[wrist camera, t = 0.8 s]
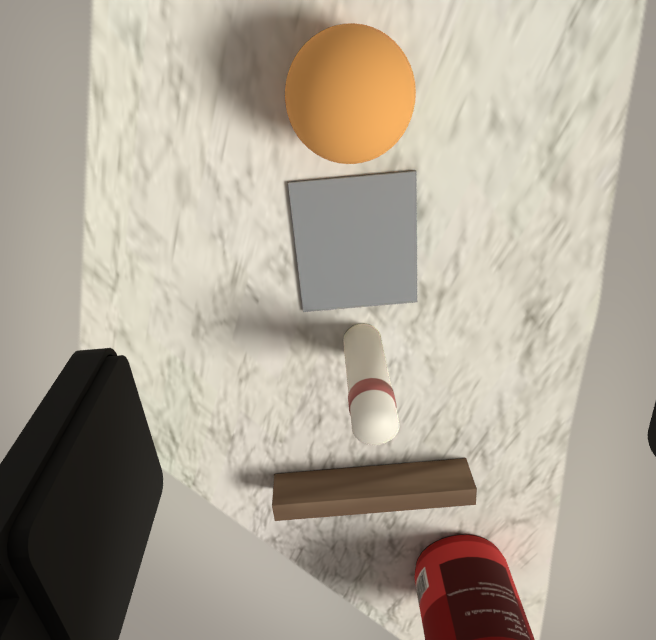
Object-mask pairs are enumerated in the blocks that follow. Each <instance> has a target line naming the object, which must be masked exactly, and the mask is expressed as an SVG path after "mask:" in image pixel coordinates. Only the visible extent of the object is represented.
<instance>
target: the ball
mask: <svg viewBox="0 0 656 640" xmlns="http://www.w3.org/2000/svg"><path fill="white" fill-rule="evenodd" d="M415 94H416V90H415V80H414V75H413V71H412V68H411V65H410V63H409V61H408V59H407V57H406V55H405V54H404V52H403V51H402V49H401V48H400V47H399V46H398V45H397V44H396V42H395V41H394V40H392V39H391V38H390V37H389V36H388V35H386V34H385V33H383V32H381V31H380V30H377V29H375V28H373V27H370V26H367V25H362V24H355V23H354V24H341V25H336V26H333V27H330V28H327V29H325V30H323V31H321V32H319V33H318V34H316V35H315V36H313V37H312V38H311V39H310V40H309V41H307V42H306V43H305V44H304V46H303V47H302V48H301V49H300V50H299V52H298V53H297V55H296V56H295V58H294V60H293V62H292V64H291V66H290V69H289V72H288V75H287V80H286V86H285V103H286V109H287V114H288V117H289V120H290V123H291V125H292V127H293V129H294V131H295V133H296V134H297V136H298V137H299V139H300V140H301V141H302V142H303V143H304V144H305V145H306V146H307V147H308V148H309V149H310V150H311V151H313V152H314V153H315V154H317V155H319V156H321V157H322V158H325V159H327V160H330V161H333V162H337V163H343V164H356V163H363V162H366V161H369V160H372V159H374V158H377V157H379V156H380V155H382V154H384V153H385V152H387V151H388V150H389V149H390V148H392V147H393V146H394V145H395V144H396V143H397V142H398V140H399V139H400V138H401V136H402V135H403V134H404V132H405V130H406V128H407V127H408V124H409V122H410V120H411V117H412V114H413V110H414V105H415Z"/></svg>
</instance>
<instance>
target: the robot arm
mask: <svg viewBox="0 0 656 640" xmlns="http://www.w3.org/2000/svg"><path fill="white" fill-rule="evenodd" d="M648 442H649V446H650V448H651V450H652V452H653V454H654V455H655V456H656V402H655V407H654V410H653V414H652V418H651V421H650V425H649V429H648ZM162 489H163V473H162V469H161V466H160V462H159V459H158V456H157V453H156V449H155V446H154V443H153V440H152V436H151V433H150V430H149V427H148V423H147V420H146V417H145V414H144V410H143V407H142V404H141V401H140V397H139V394H138V391H137V388H136V384H135V381H134V378H133V375H132V371H131V368H130V365H129V362H128V360H127V358H126V357H125V356H123V355H121V356H117V354H116V352H115V351H114V350H113V349H111V348H104V349H92V350H80V351H76V352H75V353H74V354H73V355H72V356H71V358H70V359H69V361H68V362H67V364H66V365H65V367H64V369H63V370H62V371H61V373H60V374H59V376H58V377H57V379H56V380H55V382H54V383H53V385H52V387H51V388H50V390H49V391H48V393H47V394H46V396H45V397H44V399H43V400H42V402H41V403H40V405H39V406H38V408H37V409H36V411H35V412H34V414H33V415H32V417H31V418H30V420H29V422H28V423H27V424H26V426H25V428H24V429H23V430H22V432H21V434H20V435H19V437H18V438H17V440H16V441H15V443H14V444H13V446H12V447H11V449H10V450H9V452H8V453H7V455H6V457H5V458H4V459H3V461H2V462H1V464H0V640H118V639H119V635H120V633H121V629H122V626H123V622H124V619H125V615H126V612H127V609H128V605H129V602H130V599H131V595H132V592H133V588H134V585H135V582H136V578H137V575H138V572H139V568H140V565H141V562H142V558H143V555H144V551H145V548H146V545H147V541H148V538H149V534H150V531H151V527H152V524H153V521H154V518H155V514H156V511H157V507H158V504H159V500H160V497H161V494H162Z"/></svg>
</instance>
